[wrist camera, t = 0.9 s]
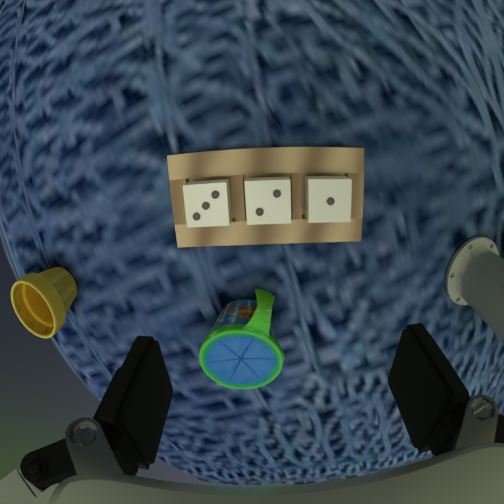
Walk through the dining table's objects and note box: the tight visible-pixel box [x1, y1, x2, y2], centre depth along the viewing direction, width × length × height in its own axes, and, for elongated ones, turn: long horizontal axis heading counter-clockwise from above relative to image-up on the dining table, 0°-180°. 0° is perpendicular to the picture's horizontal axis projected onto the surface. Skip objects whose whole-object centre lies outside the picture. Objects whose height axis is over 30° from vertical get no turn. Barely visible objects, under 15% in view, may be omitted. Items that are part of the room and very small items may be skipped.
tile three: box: [183, 179, 232, 228], centre depth 34 cm, size 5×5×3 cm
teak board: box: [167, 147, 364, 247], centre depth 36 cm, size 24×12×2 cm, turn 93°
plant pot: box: [11, 267, 77, 338], centre depth 39 cm, size 10×10×10 cm
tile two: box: [244, 177, 291, 225], centre depth 34 cm, size 5×5×3 cm
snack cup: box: [199, 289, 284, 389], centre depth 40 cm, size 16×10×10 cm
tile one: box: [305, 176, 352, 223], centre depth 33 cm, size 5×5×3 cm
